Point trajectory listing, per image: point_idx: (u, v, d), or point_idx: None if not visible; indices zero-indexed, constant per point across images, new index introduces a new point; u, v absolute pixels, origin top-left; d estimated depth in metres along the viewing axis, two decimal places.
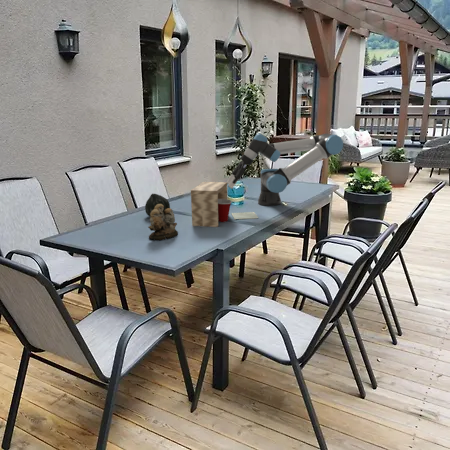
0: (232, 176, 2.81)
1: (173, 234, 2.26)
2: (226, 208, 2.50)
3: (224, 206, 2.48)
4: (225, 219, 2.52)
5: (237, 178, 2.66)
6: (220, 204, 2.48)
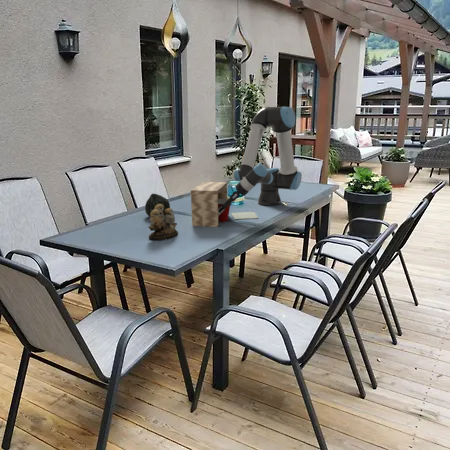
0: None
1: (173, 234, 2.26)
2: (226, 208, 2.50)
3: None
4: (225, 219, 2.52)
5: (223, 208, 2.45)
6: (220, 204, 2.48)
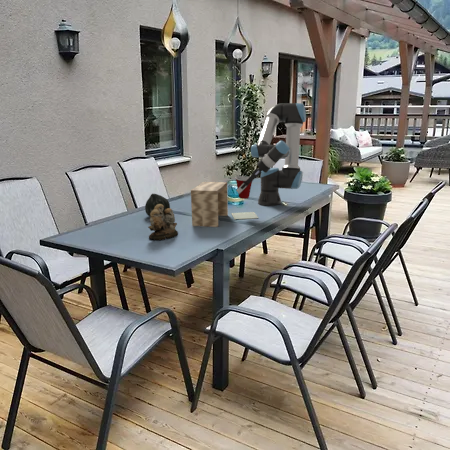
0: None
1: (173, 234, 2.26)
2: (248, 185, 2.56)
3: None
4: (247, 196, 2.59)
5: (245, 184, 2.51)
6: (242, 181, 2.54)
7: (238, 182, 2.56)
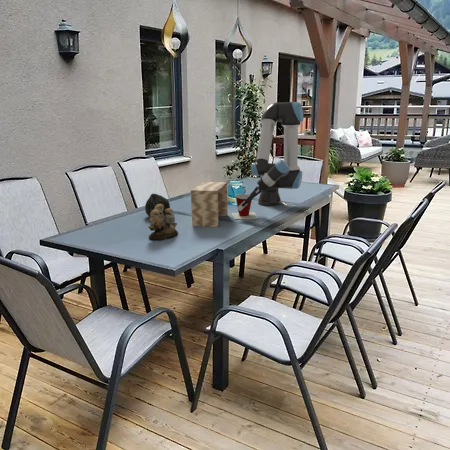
0: None
1: (173, 234, 2.26)
2: (248, 203, 2.59)
3: None
4: (247, 213, 2.62)
5: (246, 202, 2.53)
6: (242, 199, 2.57)
7: (238, 200, 2.59)
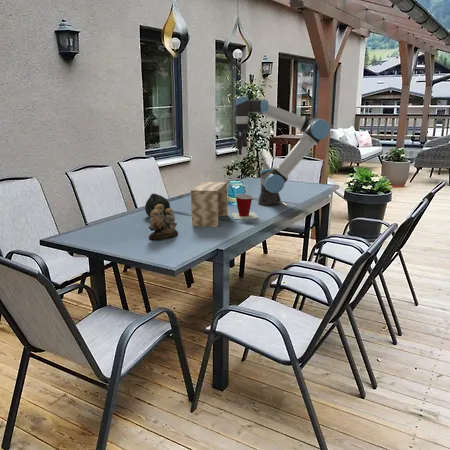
0: None
1: (173, 234, 2.26)
2: (248, 203, 2.59)
3: (246, 201, 2.58)
4: (247, 213, 2.62)
5: None
6: (242, 199, 2.57)
7: (238, 200, 2.59)
